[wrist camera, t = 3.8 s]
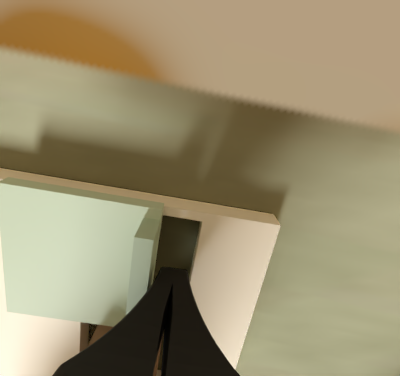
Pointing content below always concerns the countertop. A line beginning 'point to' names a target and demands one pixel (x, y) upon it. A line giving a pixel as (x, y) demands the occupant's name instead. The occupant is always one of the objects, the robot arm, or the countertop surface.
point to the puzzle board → (199, 281)
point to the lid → (76, 251)
